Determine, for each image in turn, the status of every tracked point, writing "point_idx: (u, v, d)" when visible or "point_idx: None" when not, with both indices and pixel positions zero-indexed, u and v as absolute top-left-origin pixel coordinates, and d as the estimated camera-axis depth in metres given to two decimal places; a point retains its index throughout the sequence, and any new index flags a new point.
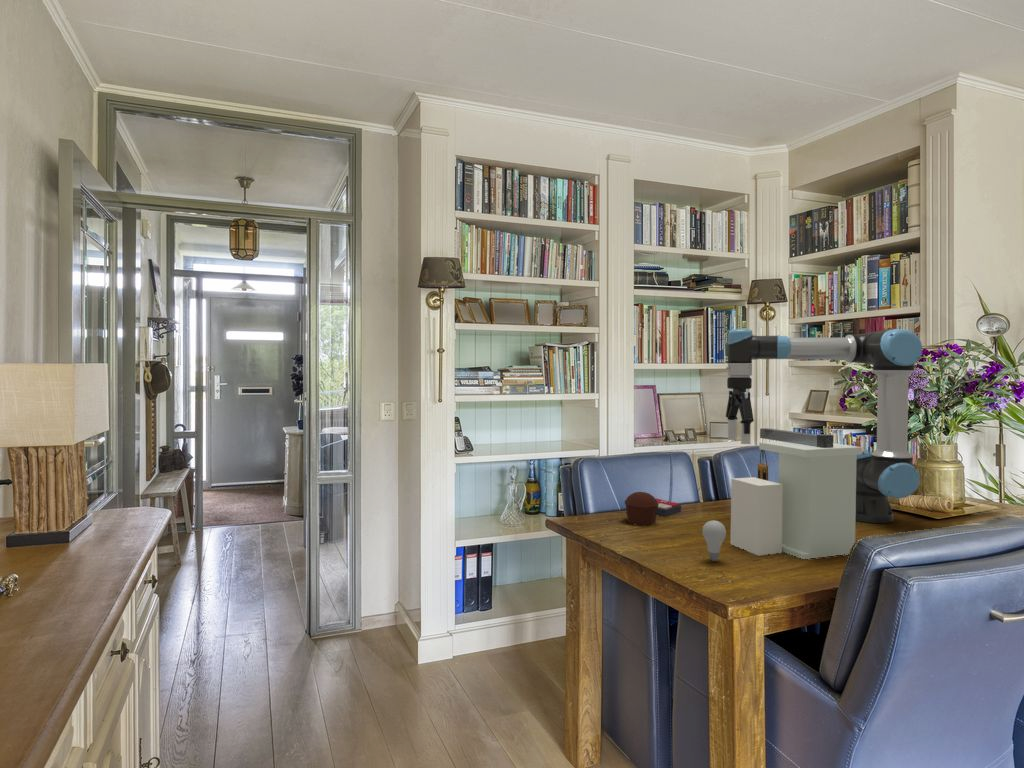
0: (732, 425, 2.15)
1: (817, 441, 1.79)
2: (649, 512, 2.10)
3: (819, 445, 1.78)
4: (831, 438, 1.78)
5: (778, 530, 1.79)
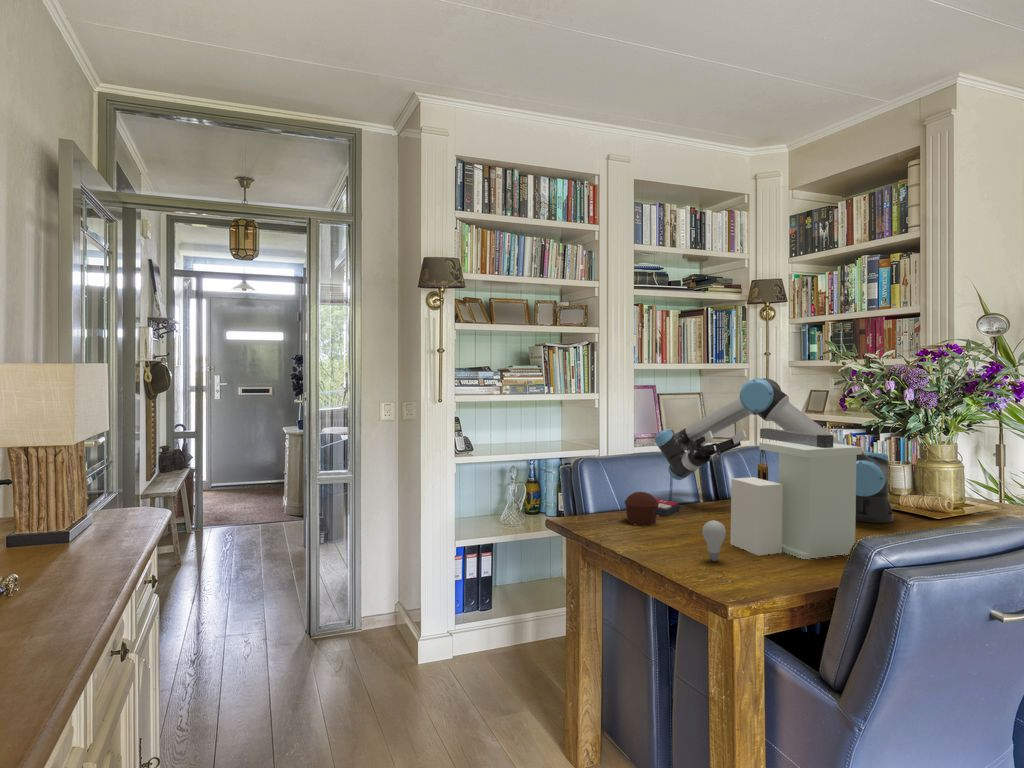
0: (736, 439, 2.25)
1: (817, 441, 1.79)
2: (649, 512, 2.10)
3: (819, 445, 1.78)
4: (831, 438, 1.78)
5: (778, 530, 1.79)
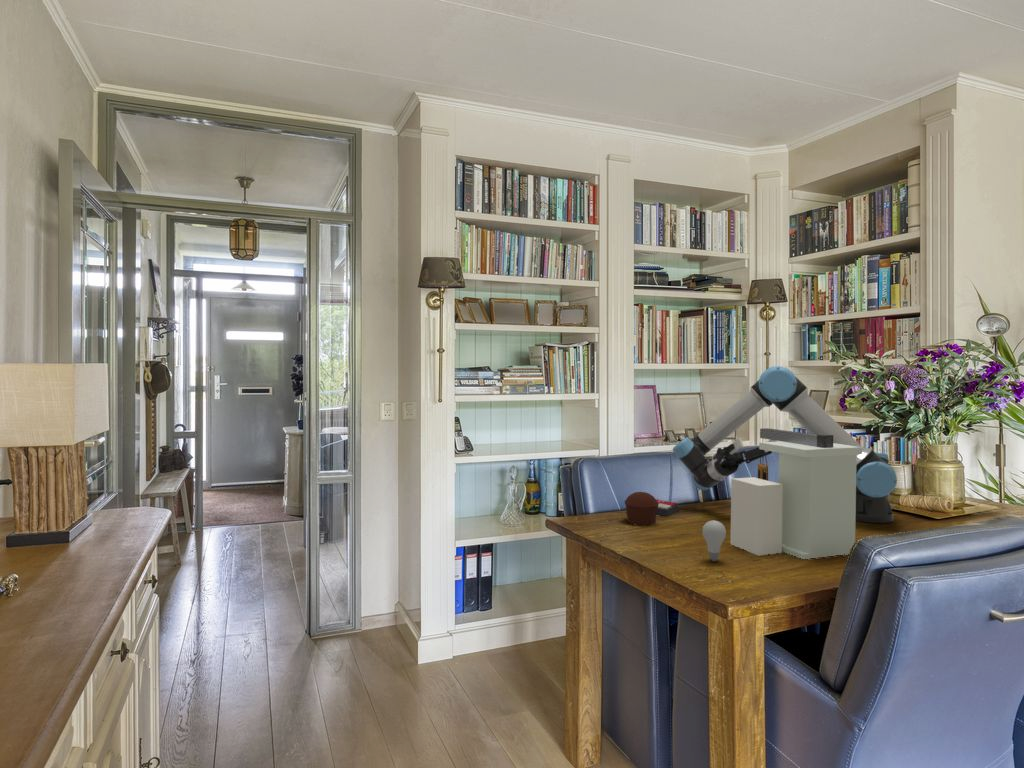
0: None
1: (817, 441, 1.79)
2: (649, 512, 2.10)
3: (819, 445, 1.78)
4: (831, 438, 1.78)
5: (778, 530, 1.79)
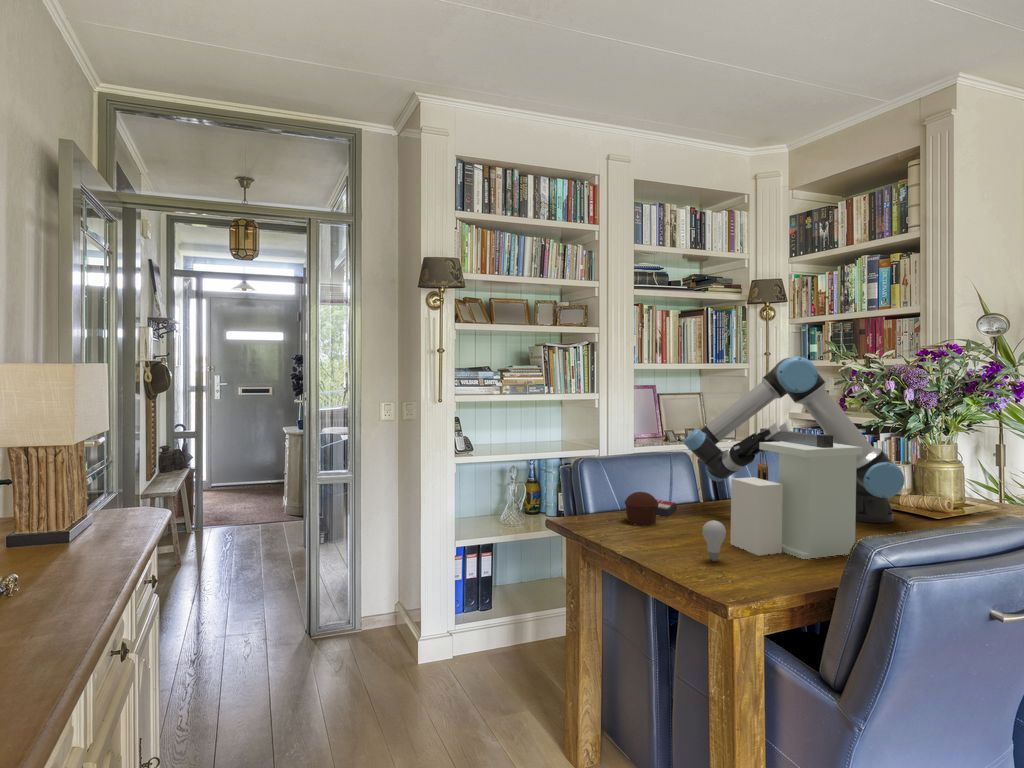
0: None
1: (817, 441, 1.79)
2: (650, 512, 2.10)
3: (819, 445, 1.78)
4: (831, 438, 1.78)
5: (778, 530, 1.79)
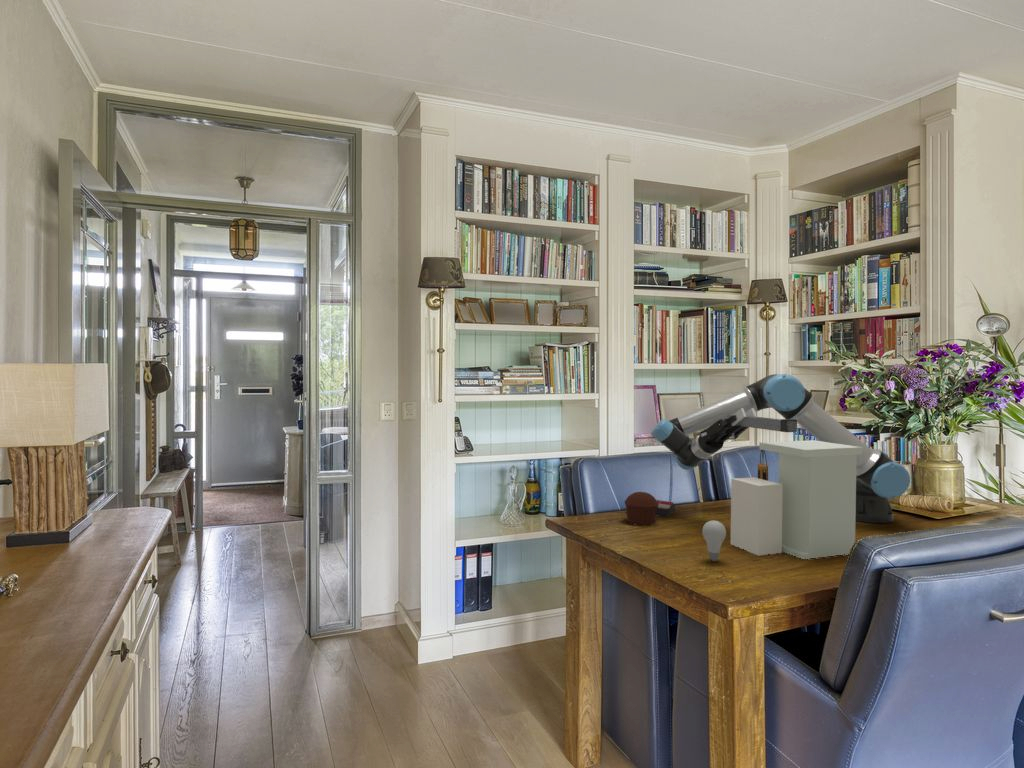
0: None
1: (781, 426, 1.76)
2: (650, 512, 2.10)
3: (782, 430, 1.75)
4: (795, 422, 1.75)
5: (778, 530, 1.79)
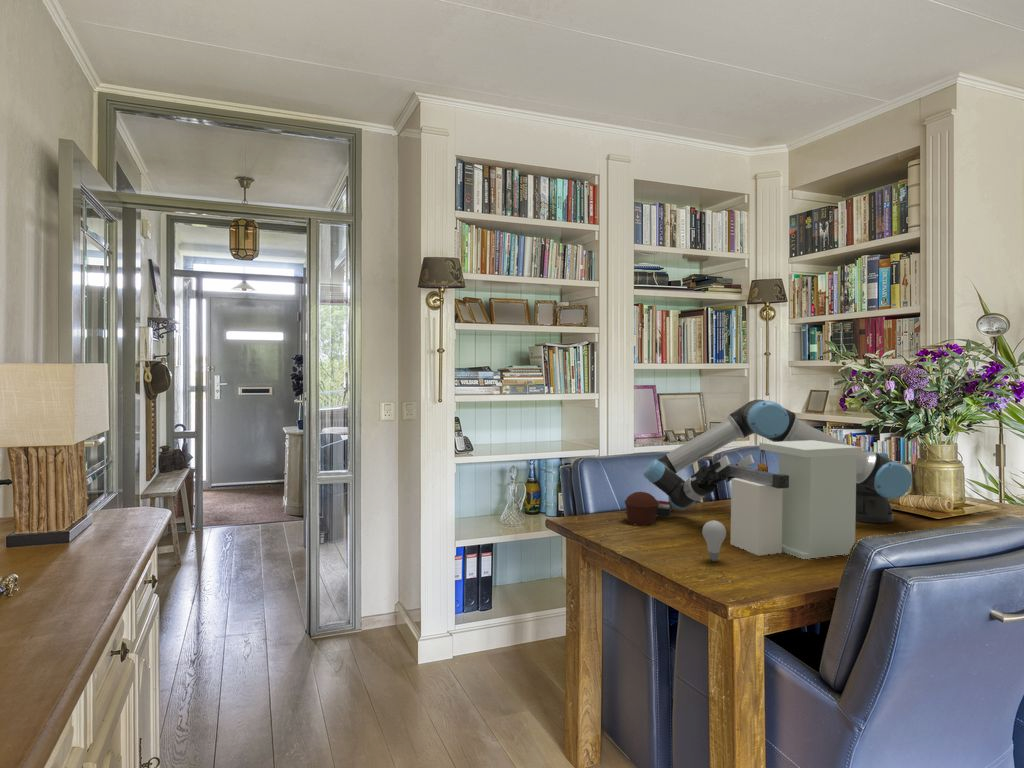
0: (742, 464, 1.95)
1: (773, 481, 1.75)
2: (650, 512, 2.10)
3: (774, 485, 1.74)
4: (787, 478, 1.73)
5: (778, 530, 1.79)
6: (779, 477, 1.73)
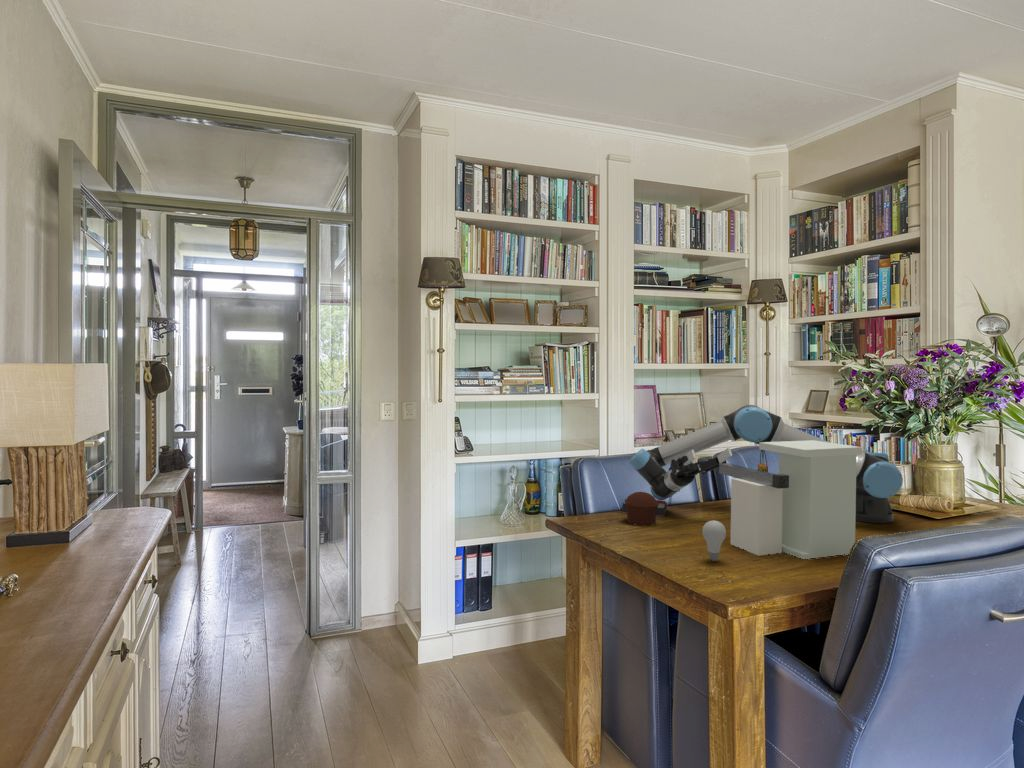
0: (721, 457, 2.09)
1: (773, 481, 1.75)
2: (650, 512, 2.10)
3: (774, 485, 1.74)
4: (787, 478, 1.73)
5: (778, 530, 1.79)
6: (779, 477, 1.73)
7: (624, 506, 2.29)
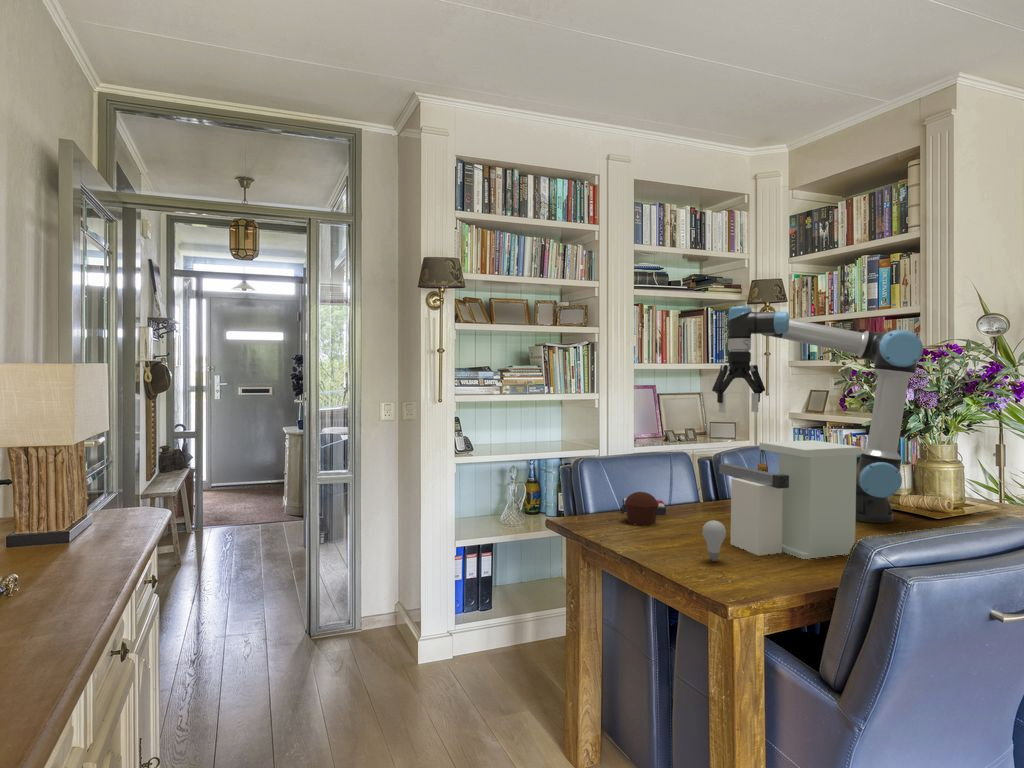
0: None
1: (773, 481, 1.75)
2: (650, 512, 2.10)
3: (774, 485, 1.74)
4: (787, 478, 1.73)
5: (778, 530, 1.79)
6: (779, 477, 1.73)
7: (625, 507, 2.27)
